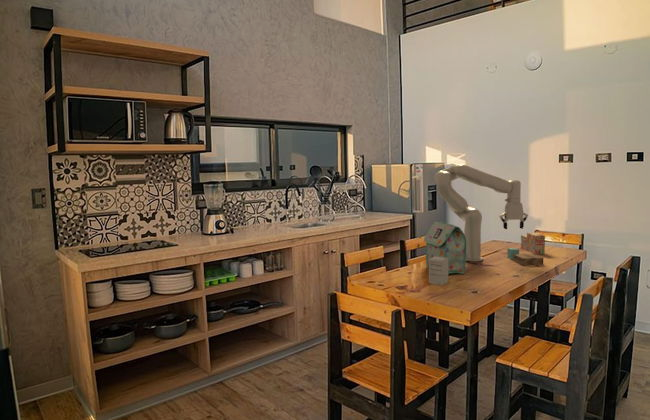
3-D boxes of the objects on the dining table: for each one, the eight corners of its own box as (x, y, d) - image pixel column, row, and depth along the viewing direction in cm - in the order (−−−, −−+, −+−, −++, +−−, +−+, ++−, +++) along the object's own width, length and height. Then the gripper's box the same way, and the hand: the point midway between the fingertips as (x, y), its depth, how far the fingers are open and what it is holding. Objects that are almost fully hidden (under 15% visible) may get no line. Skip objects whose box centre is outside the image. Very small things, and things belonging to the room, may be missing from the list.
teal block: (510, 259, 279) (510, 249, 278) (507, 257, 284) (507, 248, 283) (518, 259, 279) (519, 249, 278) (515, 257, 284) (515, 247, 283)
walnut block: (522, 265, 261) (522, 258, 261) (513, 261, 273) (513, 254, 273) (543, 264, 261) (543, 257, 261) (533, 260, 273) (533, 253, 273)
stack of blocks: (520, 248, 312) (520, 230, 311) (529, 248, 312) (530, 230, 311) (535, 254, 291) (535, 235, 289) (544, 254, 291) (545, 235, 289)
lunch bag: (422, 267, 263) (421, 221, 261) (447, 265, 267) (447, 219, 265) (441, 276, 241) (441, 226, 239) (469, 274, 245) (469, 224, 243)
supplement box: (435, 280, 234) (435, 256, 232) (448, 282, 229) (448, 257, 228) (428, 283, 228) (428, 258, 227) (442, 285, 223) (442, 260, 222)
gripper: (501, 201, 274) (501, 230, 276) (530, 200, 274) (530, 229, 276) (497, 200, 281) (496, 228, 283) (525, 199, 281) (524, 227, 283)
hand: (513, 228), depth 279 cm, fingers open, 9 cm apart
